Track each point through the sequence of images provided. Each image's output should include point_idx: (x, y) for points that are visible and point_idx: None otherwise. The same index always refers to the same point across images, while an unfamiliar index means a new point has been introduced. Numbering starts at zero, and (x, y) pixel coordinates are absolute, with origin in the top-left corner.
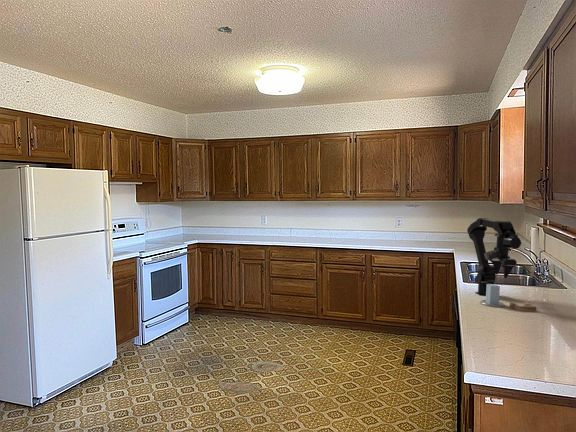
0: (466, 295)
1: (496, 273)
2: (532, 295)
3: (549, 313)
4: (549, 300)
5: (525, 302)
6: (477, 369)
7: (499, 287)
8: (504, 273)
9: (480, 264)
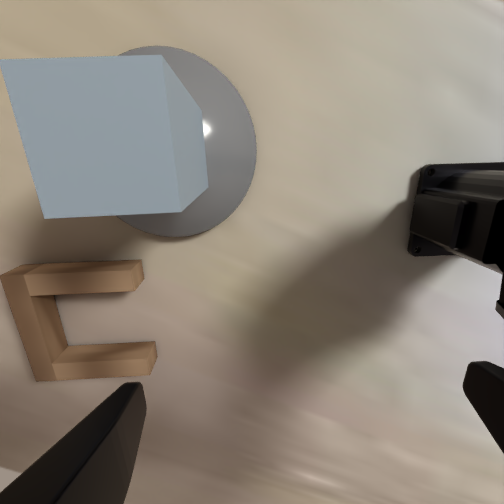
0: (449, 42)
1: (480, 380)
2: (403, 465)
3: (41, 408)
4: (307, 494)
5: (145, 365)
6: None
7: (55, 210)
8: (27, 472)
9: None
